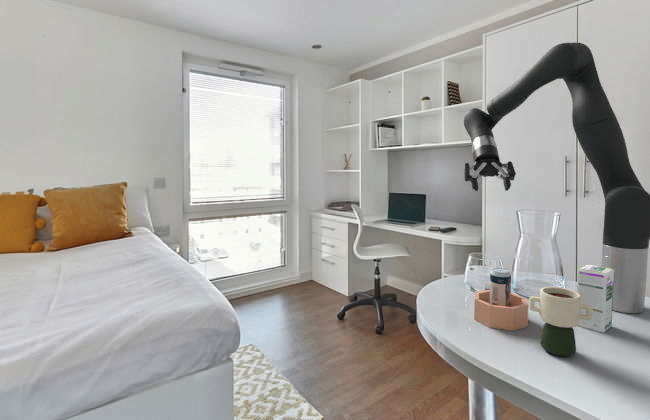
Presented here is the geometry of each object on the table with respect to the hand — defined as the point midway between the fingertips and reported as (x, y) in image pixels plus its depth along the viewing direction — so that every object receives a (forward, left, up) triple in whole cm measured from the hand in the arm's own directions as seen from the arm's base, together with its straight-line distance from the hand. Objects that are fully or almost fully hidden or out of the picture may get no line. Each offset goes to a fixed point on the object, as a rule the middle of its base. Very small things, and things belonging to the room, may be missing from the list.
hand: (491, 189), depth 102 cm
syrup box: (-5, +27, -33) cm, 43 cm away
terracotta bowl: (+12, +15, -33) cm, 38 cm away
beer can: (+12, +15, -32) cm, 37 cm away
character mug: (+14, +31, -33) cm, 47 cm away
